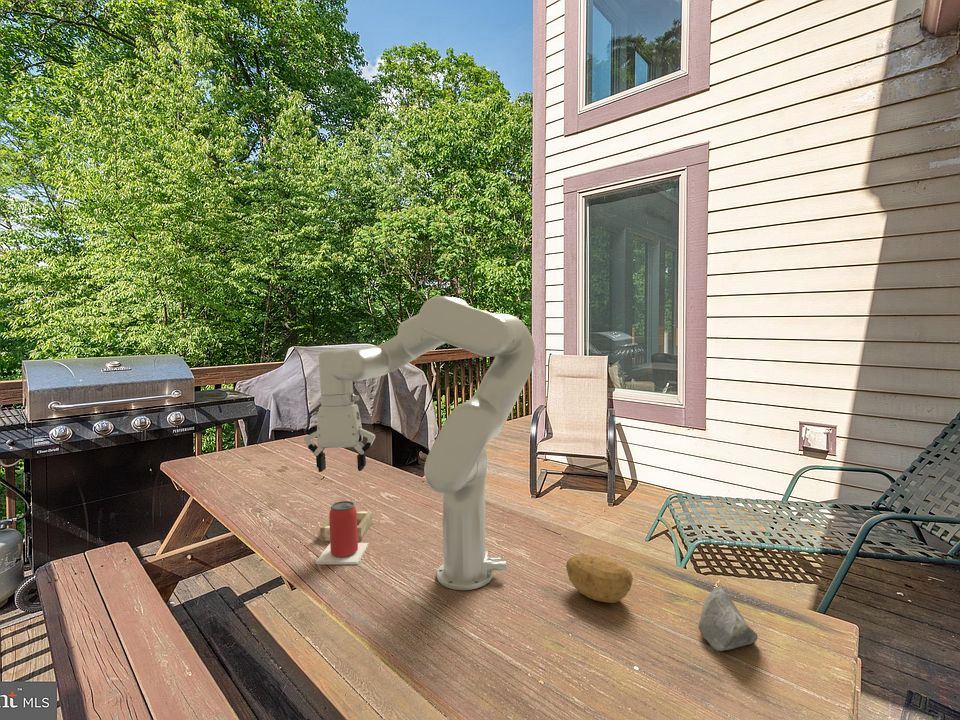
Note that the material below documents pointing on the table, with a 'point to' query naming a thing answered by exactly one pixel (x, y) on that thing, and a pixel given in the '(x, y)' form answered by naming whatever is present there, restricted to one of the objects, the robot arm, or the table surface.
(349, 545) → the beer can
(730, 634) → the stone
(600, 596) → the potato
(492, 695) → the table surface
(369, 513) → the frame
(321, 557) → the coaster
